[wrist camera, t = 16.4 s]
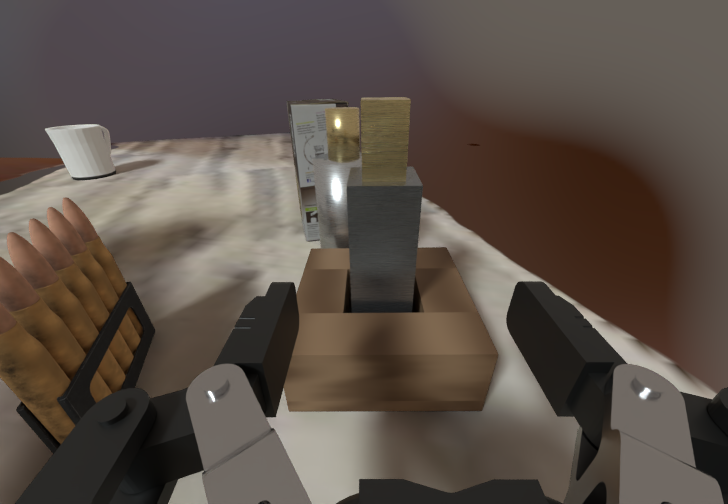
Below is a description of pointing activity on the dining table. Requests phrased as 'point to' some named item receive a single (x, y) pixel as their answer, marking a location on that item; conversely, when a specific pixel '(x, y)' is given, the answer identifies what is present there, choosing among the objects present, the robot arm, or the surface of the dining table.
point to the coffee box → (309, 153)
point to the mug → (84, 150)
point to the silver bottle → (336, 175)
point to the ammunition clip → (67, 323)
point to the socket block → (388, 343)
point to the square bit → (383, 211)
